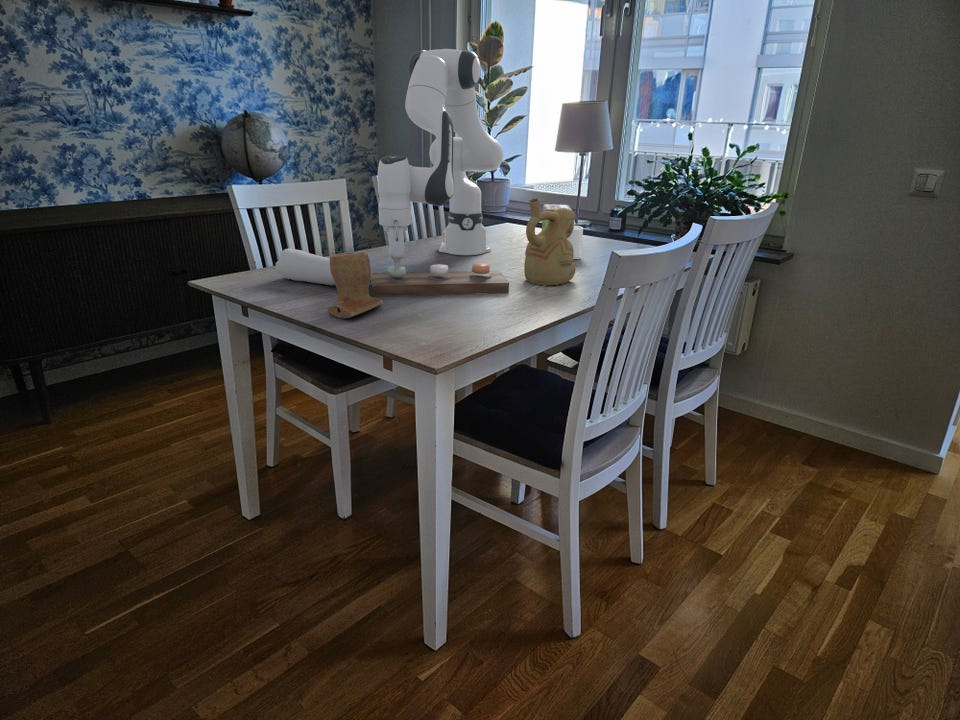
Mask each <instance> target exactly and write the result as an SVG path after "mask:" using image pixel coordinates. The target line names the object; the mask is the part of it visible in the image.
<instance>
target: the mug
mask: <svg viewBox="0 0 960 720" xmlns="http://www.w3.org/2000/svg"><path fill="white" fill-rule="evenodd" d="M583 235H584V227H582V226H579V225H574V229H573V232H572V234H571V235H570V237H568V238H567V239H568V241H569V242H570V243H571V244H572V246H573V251H574V255H573V259H578V260H580V259H581V258H582V246H583ZM579 258H580V259H579Z"/></svg>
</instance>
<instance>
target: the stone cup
mask: <svg viewBox="0 0 960 720" xmlns="http://www.w3.org/2000/svg"><path fill="white" fill-rule="evenodd" d="M329 258H330V271H331V274H332V277H333V279H334V282H335V285H334V286H335V288H336V290H337V293H338V294H337V295H338V299H337V301H335V302H334V303H333V304H331V305H329V306H327V307H326V310H327V311H328V312H329V313H330V314H331V315H333V316H334V317H336V318H338V319H350V318H353V317H355V316H358V315H360V314H363V313H366V312H369V311H370V310H373V309H374V308H377V307H379V306H381V305H382V304H383V303H384V301H383V300H382V299H380V298H376V297H374V296H370V293H369V289H370V285H369V282H370V277H371V275H372V273H371V271H372V270H371V262H370V257H369V255H368V253H367V252H365V251H359V252H358V251H356V252H355V251H354V252H353V251H352V252H340V253H334V254H332V255H330V257H329Z"/></svg>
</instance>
